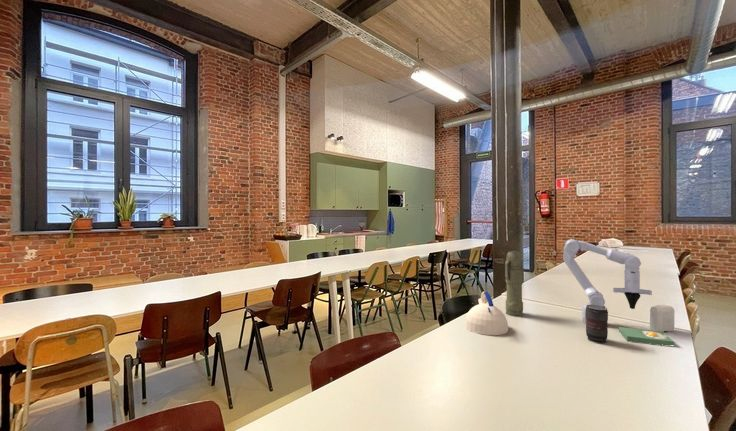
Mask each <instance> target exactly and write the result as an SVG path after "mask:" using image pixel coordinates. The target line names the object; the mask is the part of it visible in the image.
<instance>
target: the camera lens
mask: <svg viewBox="0 0 736 431" xmlns="http://www.w3.org/2000/svg"><path fill="white" fill-rule="evenodd" d="M586 305H587V307H586V324H585V334H586V336H587V340H588V341H589V342H591V343H596V344H605V343H606V342H607V340H608V336H609V335H608V334H609V332H608V330H609V329H608V327H607V325H608V321H609V310H608V308H607V307H606V306H605V305H604V306H605V307H604V306H600V305H593V304H589V305H588V304H586Z"/></svg>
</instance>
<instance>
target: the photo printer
mask: <svg viewBox="0 0 736 431" xmlns="http://www.w3.org/2000/svg"><path fill="white" fill-rule="evenodd" d="M649 330H651V331H660V332H663V333H665V332H664V331H668V332H674V331H675V309H674V307H673V306H672V305H671V306H670V305H667V304H661V303H660V304H656V305H653V306H651V307H650V309H649ZM673 330H674V331H673Z"/></svg>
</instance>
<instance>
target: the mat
mask: <svg viewBox="0 0 736 431" xmlns="http://www.w3.org/2000/svg"><path fill="white" fill-rule="evenodd" d="M618 332H619V333H621V334H620V335H621V336H622V337H623V339H625V341H626V342H630V341H632V342H631V343H638V342H642V343H641V344H647V343H651V344H650V345H655V344H663V345H674V346H675V345H676V344H675V340H673V339H672V338H671V337H669V336H668V335H667V334H665V332H660V331H652V330H651V329H649V330H647V329H642V328H641V329H639V328H631V327H623V326H622V327H620V326H619V327H618ZM649 332H655V333H656V334H657V335H658V337H653V336H649V335H647V334H648V333H649ZM663 345H662V346H663Z"/></svg>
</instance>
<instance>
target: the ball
mask: <svg viewBox="0 0 736 431" xmlns="http://www.w3.org/2000/svg"><path fill="white" fill-rule="evenodd" d="M647 335H649V336H653V337H658V335H657V334H656V333H655V332H649V333H648V334H647Z"/></svg>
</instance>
